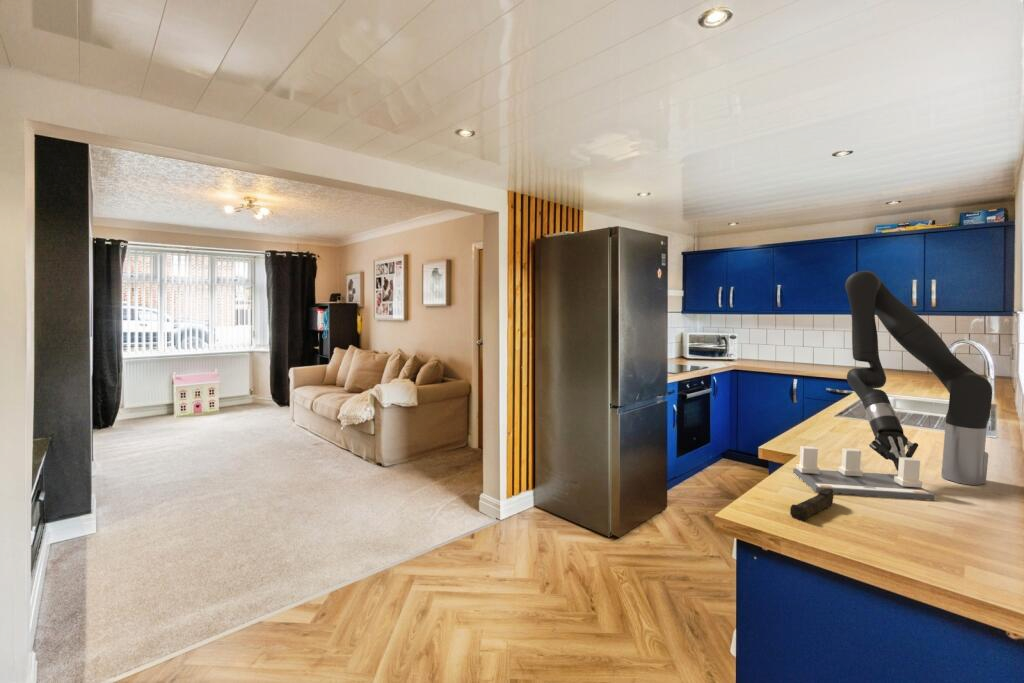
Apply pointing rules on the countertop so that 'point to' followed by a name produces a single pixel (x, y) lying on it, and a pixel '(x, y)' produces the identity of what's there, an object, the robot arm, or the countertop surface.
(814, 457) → the far tab
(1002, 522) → the countertop surface
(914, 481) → the near tab
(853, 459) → the middle tab
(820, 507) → the hand tool
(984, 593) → the countertop surface
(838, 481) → the switch bank
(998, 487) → the countertop surface
